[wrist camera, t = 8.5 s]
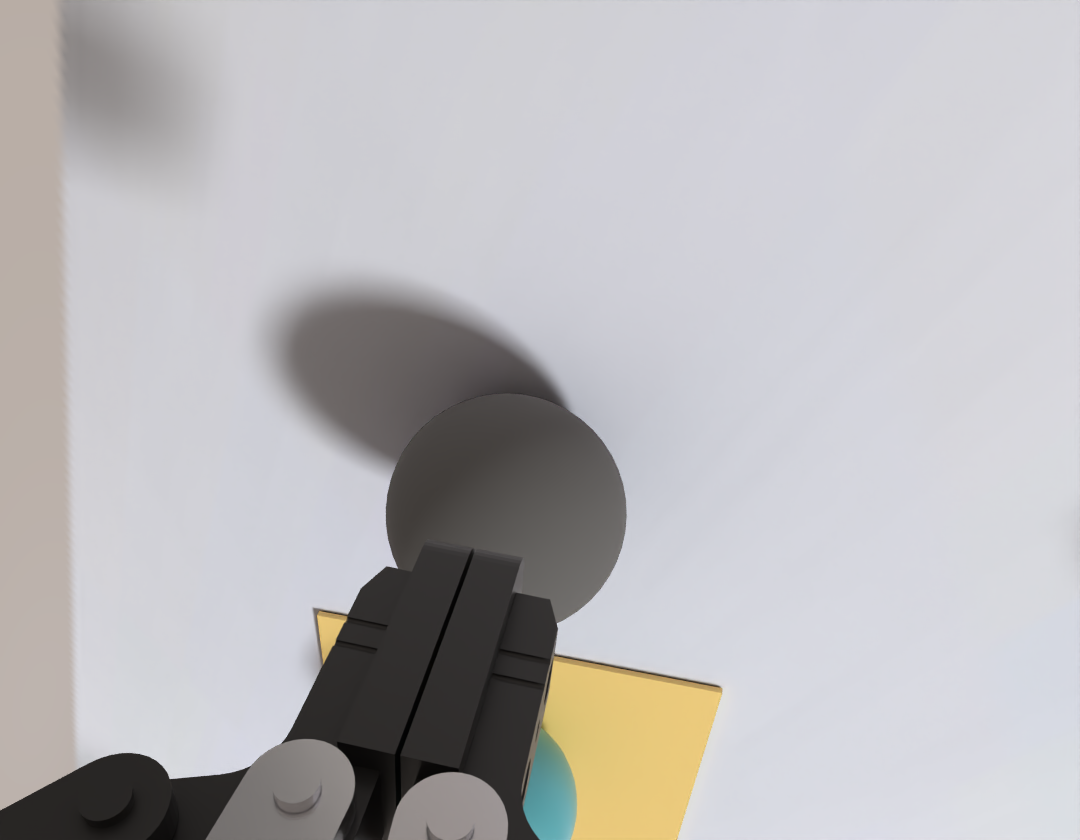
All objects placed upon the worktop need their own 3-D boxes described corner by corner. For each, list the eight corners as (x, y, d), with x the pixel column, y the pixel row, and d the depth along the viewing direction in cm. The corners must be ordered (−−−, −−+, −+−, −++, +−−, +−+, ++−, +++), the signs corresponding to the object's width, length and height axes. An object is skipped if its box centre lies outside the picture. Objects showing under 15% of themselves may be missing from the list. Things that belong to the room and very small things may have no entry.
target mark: (659, 890, 37) (659, 895, 37) (345, 822, 39) (344, 826, 39) (722, 688, 29) (722, 693, 29) (319, 611, 30) (317, 615, 30)
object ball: (572, 748, 27) (582, 692, 33) (381, 740, 27) (424, 686, 33) (571, 946, 27) (580, 854, 33) (379, 934, 27) (423, 845, 33)
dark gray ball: (626, 376, 19) (629, 410, 25) (359, 374, 20) (423, 407, 26) (622, 658, 18) (626, 624, 24) (346, 646, 19) (415, 615, 25)
